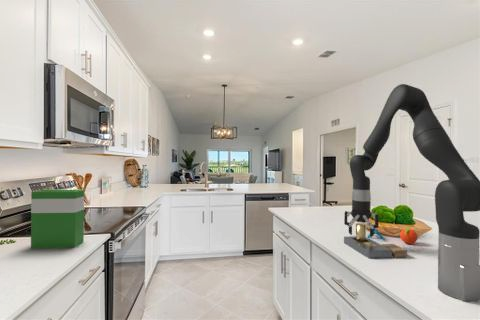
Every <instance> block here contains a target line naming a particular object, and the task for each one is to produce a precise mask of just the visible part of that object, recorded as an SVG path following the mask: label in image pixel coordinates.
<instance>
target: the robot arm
mask: <svg viewBox="0 0 480 320" xmlns="http://www.w3.org/2000/svg"><path fill="white" fill-rule="evenodd" d="M399 110H400V111H403V112H406V113H407V114H408V115H409V117H410V118H411V121H412V123H413V130H412V139H413V142H414V144H415V146H416V147H417V150H418V152H419V153H420V155H422V157H423V158H424V159H426V160H427V162H429V163H431V164H432V165H433V166H435V167H436V168H438V169H439V170H440V171H442V173H444V175H446V177H447V178H448V179H446V180H442V181H439V183H438V184H437V186H436V188H435V192H434V205H435V208H434V209H435V220H436V225H437V226H438V243H437V244H438V246H437V247H438V248H437V249H438V250H437V252H438V253H437V266H438V267H437V289H438V290H439V291H440V292H441V293H442V294H445V295H447V296H449V297H452V298H455V299H458V300H460V301H463V302H469V301H470V302H472V301H473V302H474V301H480V228H479V227H478V226H477V225H474V224H472V223H470V222H467V221H466V220H465V214H464V212H465V213H466V212H468V213H469V212H473V213H474V212H480V179H479V178H478V176H476V174H475V173H474V172H473V171H472V169H471V168H470V167H469V165H468V164H467V162H465V160H464V159H463V157H462V155H461V154H460V152H459V151H458V149H457V148H456V147H455V145H454V144H453V142H452V139H451V137H450V136H449V135H448V134H447V131H446V130H445V128H444V127H443V126H442V124H441V122H440V121H439V119H438V117H437V115H436V114H435V113H434V111H433V110H432V107H431V105H430V102H429V99H428V98H427V95H426V94H425V92H424V91H423V90H422V89H421V88H418V87H415V86H412V85H410V84H406V83H399V84H398V85H397V86H395V87H394V88H393V89H392V91H391V92H390V94H389V95H388V98H387V99H386V101H385V104H384V106H383V108H382V110H381V113H380V115H379V118H378V120H377V122H376V124H375V125H374V128H373V129H372V131H371V133H370V134H369V136H368V137H367V139H366V141H365V142H364V143H363V145H362V149H363V150H364V153H363V154H355V155H353V156H351V158H350V161H349V169H350V174H351V177H352V194H351V200H352V201H351V211H347V210H344V221H343V222H344V225H345V226H347V227H348V233H349V234H350V236H352V235H353V224H355V222H357V223H363V224H364V223H365V224H367V223H368V224H367V225H368V226H369V234H370V237H369V238H373V237H374V235H375V234H374V228H375V229H379V226H380V225H379V213H377V212H376V213H372V212H371V205H372V204H371V200H372V199H371V180H370V177H369V176H367V175H366V172H365V171H369V170H371V169H372V168H373V167H374V166H375V164H376V162H377V159H378V157H379V154H380V152H381V150H383V148H384V146H385V145H386V143H387V142H388V141H389V138H390V134H391V128H392V127H391V125H392V122H393V119H394V117H395V115H396V113H398V111H399ZM350 215H351V217H352V218H351V220H350V222H349V221H348V217H350ZM371 218H373V219H374V224H373V223H372V222H371V220H370V219H371Z"/></svg>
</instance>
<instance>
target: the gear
mask: <svg viewBox="0 0 480 320" xmlns="http://www.w3.org/2000/svg"><path fill="white" fill-rule="evenodd" d="M366 224H367V225H368V223H367V222H366ZM375 234H377V236H378V237H379V238H381V240H384V239H385V237H384V236H383V235H382V234H381V233H380V232H379V231H378V228H374V235H375ZM366 237H367V238H369V239H370V238H371V237H370V233H368V235H367V236H366Z"/></svg>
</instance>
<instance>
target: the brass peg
mask: <svg viewBox="0 0 480 320" xmlns="http://www.w3.org/2000/svg"><path fill="white" fill-rule="evenodd" d="M366 230H367V225H366V223H365V224H364V223H362V222H357V223H356V224H355V236H356V241H357V242H366V237H367V236H366V235H367V234H366V233H367V232H366Z"/></svg>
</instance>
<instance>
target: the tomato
mask: <svg viewBox="0 0 480 320" xmlns="http://www.w3.org/2000/svg"><path fill="white" fill-rule="evenodd" d="M399 238H400V240H401V241H402V242H404V243H405V244H407V245H411V244H415V243H416V242H417V241H418V234H417V232H416V231H415V230H413V229H412V228H404V229H402V230H401V231H400V234H399Z"/></svg>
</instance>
